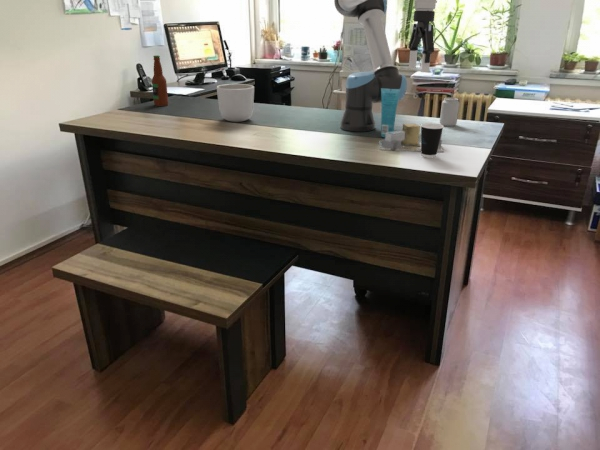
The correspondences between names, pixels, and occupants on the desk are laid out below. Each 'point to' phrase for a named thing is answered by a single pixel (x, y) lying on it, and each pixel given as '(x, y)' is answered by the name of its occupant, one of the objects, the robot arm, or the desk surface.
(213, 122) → the desk surface
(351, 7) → the robot arm
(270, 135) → the desk surface
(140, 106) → the desk surface
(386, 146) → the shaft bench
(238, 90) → the planter
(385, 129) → the tube
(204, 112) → the desk surface
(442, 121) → the can
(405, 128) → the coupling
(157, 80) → the bottle
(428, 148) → the dixie cup
